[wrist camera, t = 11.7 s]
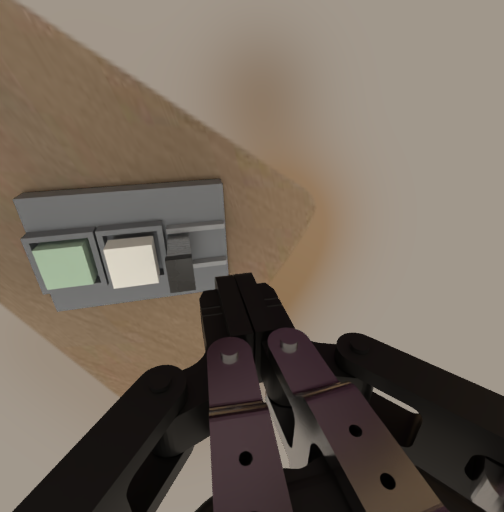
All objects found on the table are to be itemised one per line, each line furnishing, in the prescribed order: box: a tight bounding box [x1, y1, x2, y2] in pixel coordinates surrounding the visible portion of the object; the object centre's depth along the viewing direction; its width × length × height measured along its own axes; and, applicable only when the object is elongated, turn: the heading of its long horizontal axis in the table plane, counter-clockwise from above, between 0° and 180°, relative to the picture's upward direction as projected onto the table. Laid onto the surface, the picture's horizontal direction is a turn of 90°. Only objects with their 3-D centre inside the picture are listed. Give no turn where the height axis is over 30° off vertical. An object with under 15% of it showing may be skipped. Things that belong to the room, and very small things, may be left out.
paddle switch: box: [165, 232, 196, 293], centre depth 29 cm, size 2×3×6 cm
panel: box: [13, 179, 228, 312], centre depth 31 cm, size 18×12×3 cm, turn 91°
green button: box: [32, 238, 98, 290], centre depth 29 cm, size 4×4×2 cm
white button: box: [103, 236, 160, 289], centre depth 29 cm, size 4×4×2 cm
